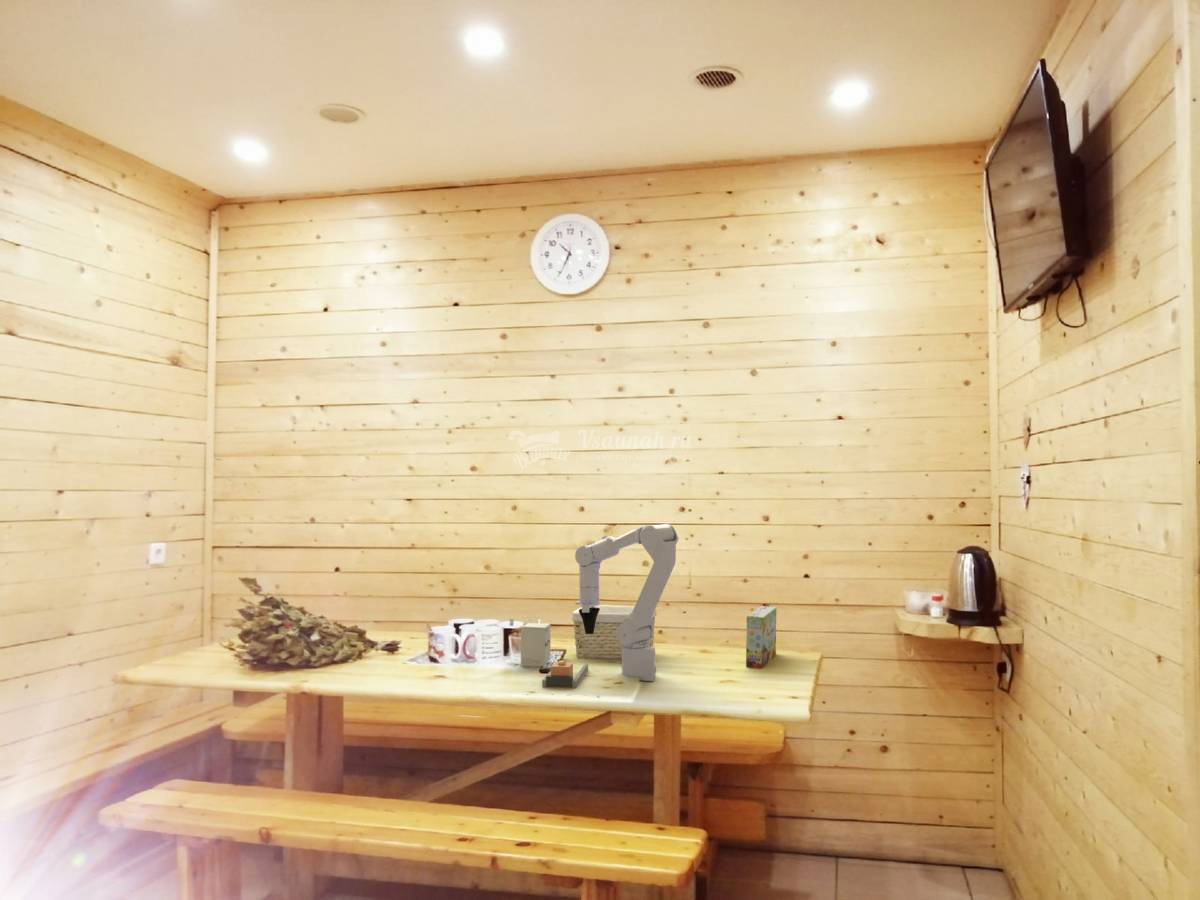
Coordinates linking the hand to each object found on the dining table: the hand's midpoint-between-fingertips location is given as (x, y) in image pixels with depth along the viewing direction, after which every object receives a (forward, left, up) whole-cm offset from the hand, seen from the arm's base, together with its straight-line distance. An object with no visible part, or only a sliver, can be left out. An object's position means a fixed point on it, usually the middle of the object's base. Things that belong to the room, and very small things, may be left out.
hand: (589, 633), depth 249 cm
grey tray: (+4, +16, -10) cm, 19 cm away
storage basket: (-5, -19, -11) cm, 23 cm away
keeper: (+4, +22, -9) cm, 24 cm away
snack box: (-50, -18, -11) cm, 54 cm away
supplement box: (+16, 0, -11) cm, 19 cm away
